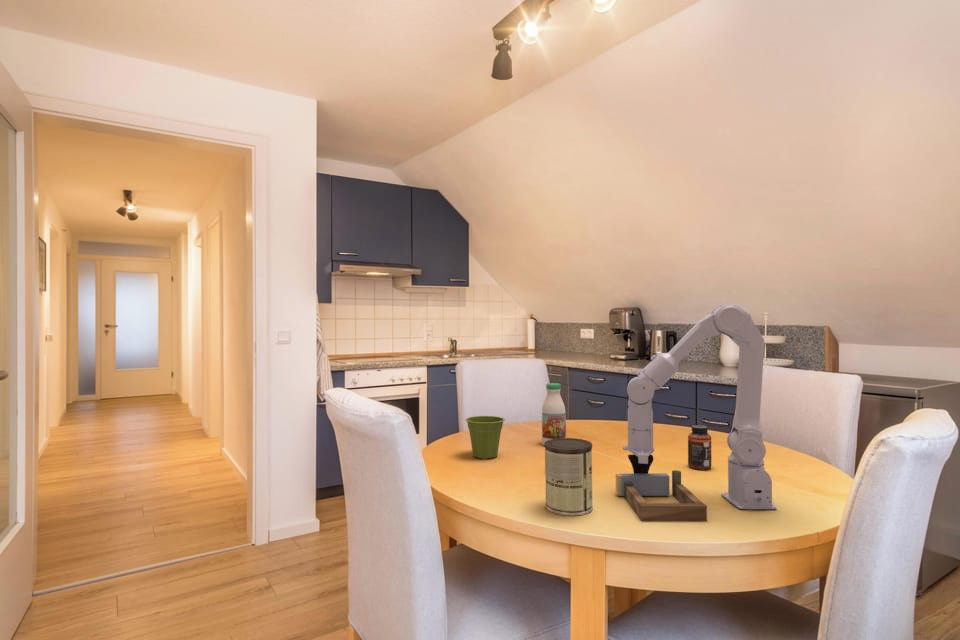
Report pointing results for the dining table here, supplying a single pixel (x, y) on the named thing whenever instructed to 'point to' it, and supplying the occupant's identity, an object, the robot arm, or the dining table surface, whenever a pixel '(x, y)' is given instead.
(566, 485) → the coffee can
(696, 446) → the supplement bottle
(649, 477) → the gate
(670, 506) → the wooden u-shaped frame
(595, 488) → the dining table surface
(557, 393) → the milk bottle
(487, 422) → the plant pot
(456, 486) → the dining table surface
